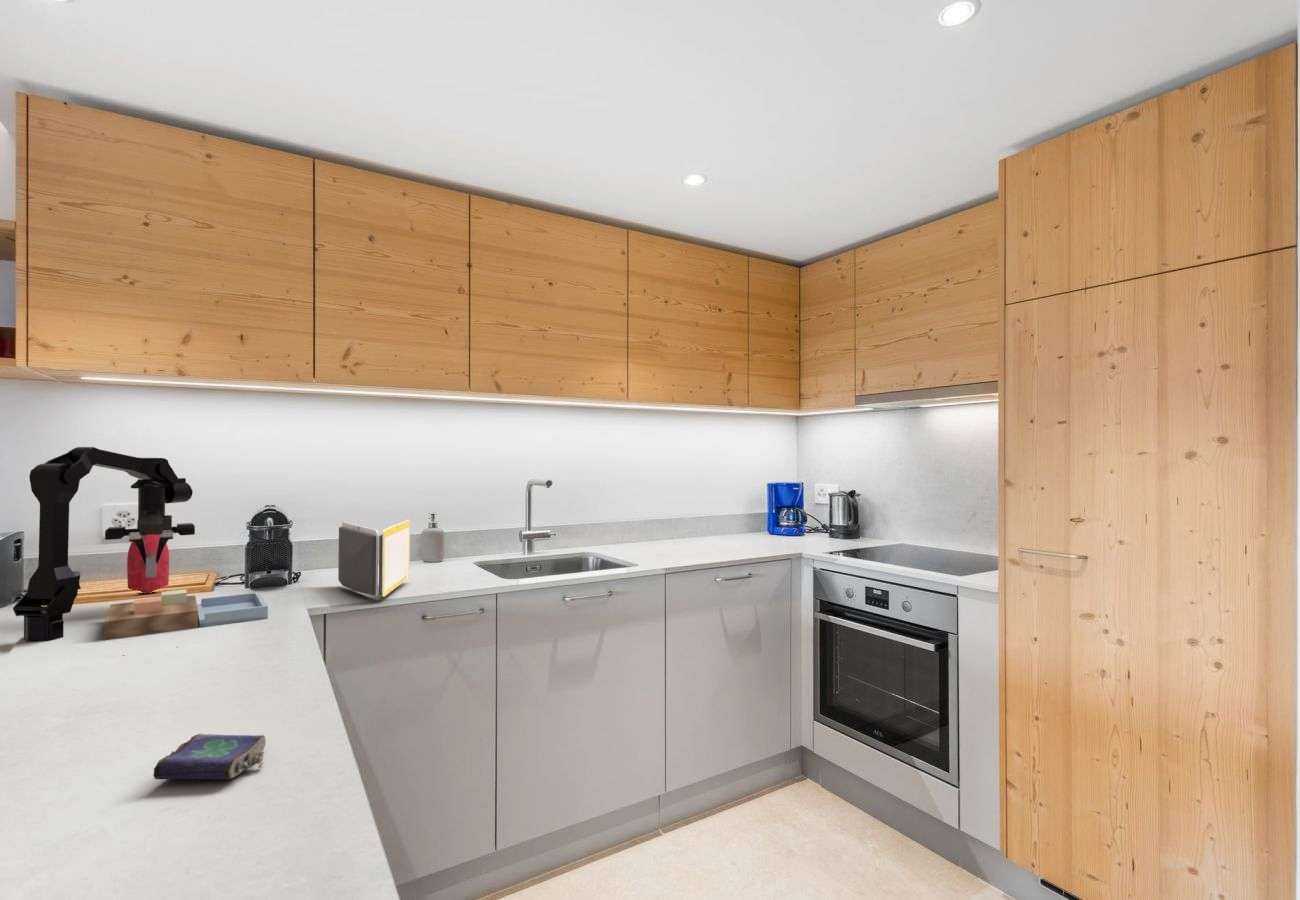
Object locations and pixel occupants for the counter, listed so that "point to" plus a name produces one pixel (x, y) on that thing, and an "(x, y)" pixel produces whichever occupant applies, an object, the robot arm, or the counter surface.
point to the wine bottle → (138, 568)
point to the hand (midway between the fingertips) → (151, 563)
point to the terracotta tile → (147, 605)
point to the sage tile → (173, 597)
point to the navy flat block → (212, 757)
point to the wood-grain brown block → (149, 619)
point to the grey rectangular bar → (151, 564)
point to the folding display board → (374, 558)
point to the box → (231, 609)
